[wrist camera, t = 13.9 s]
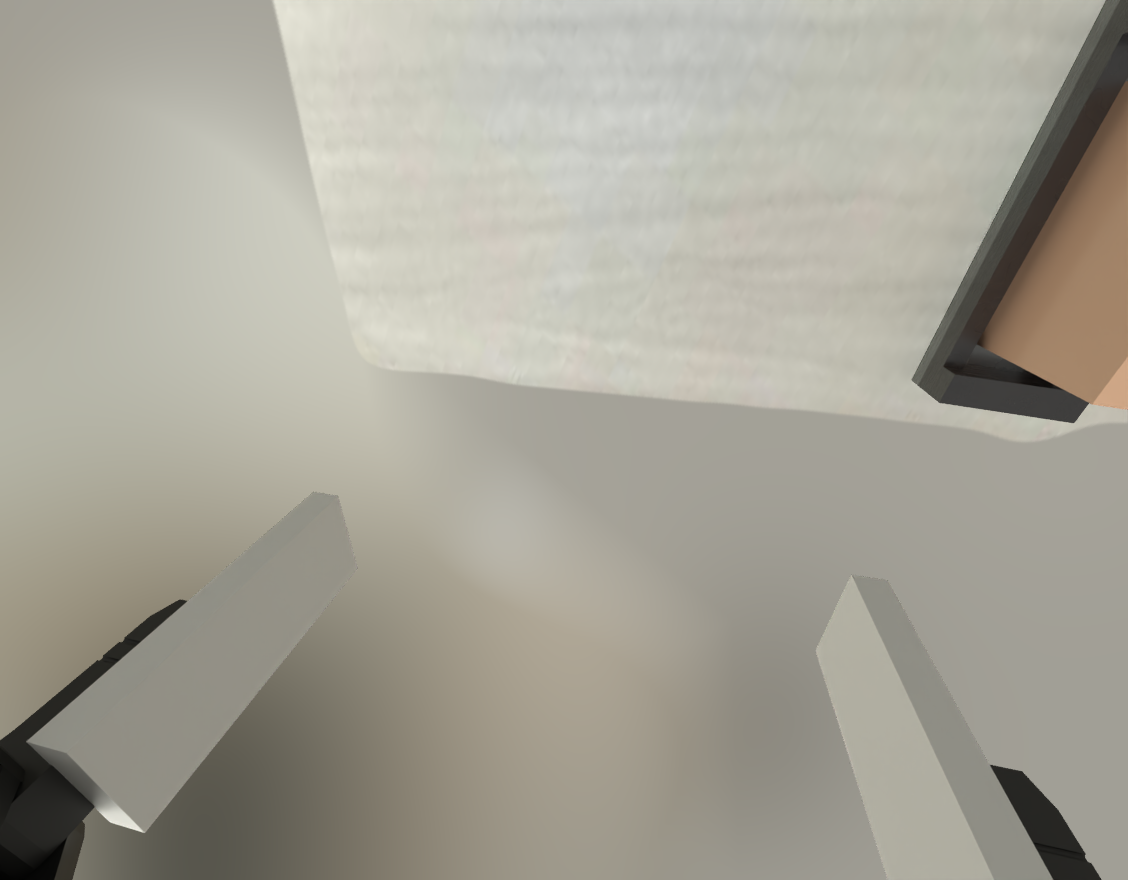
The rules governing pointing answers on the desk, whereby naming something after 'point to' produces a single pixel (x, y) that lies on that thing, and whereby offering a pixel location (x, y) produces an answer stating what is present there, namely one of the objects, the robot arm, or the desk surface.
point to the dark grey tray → (1026, 241)
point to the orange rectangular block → (1077, 280)
